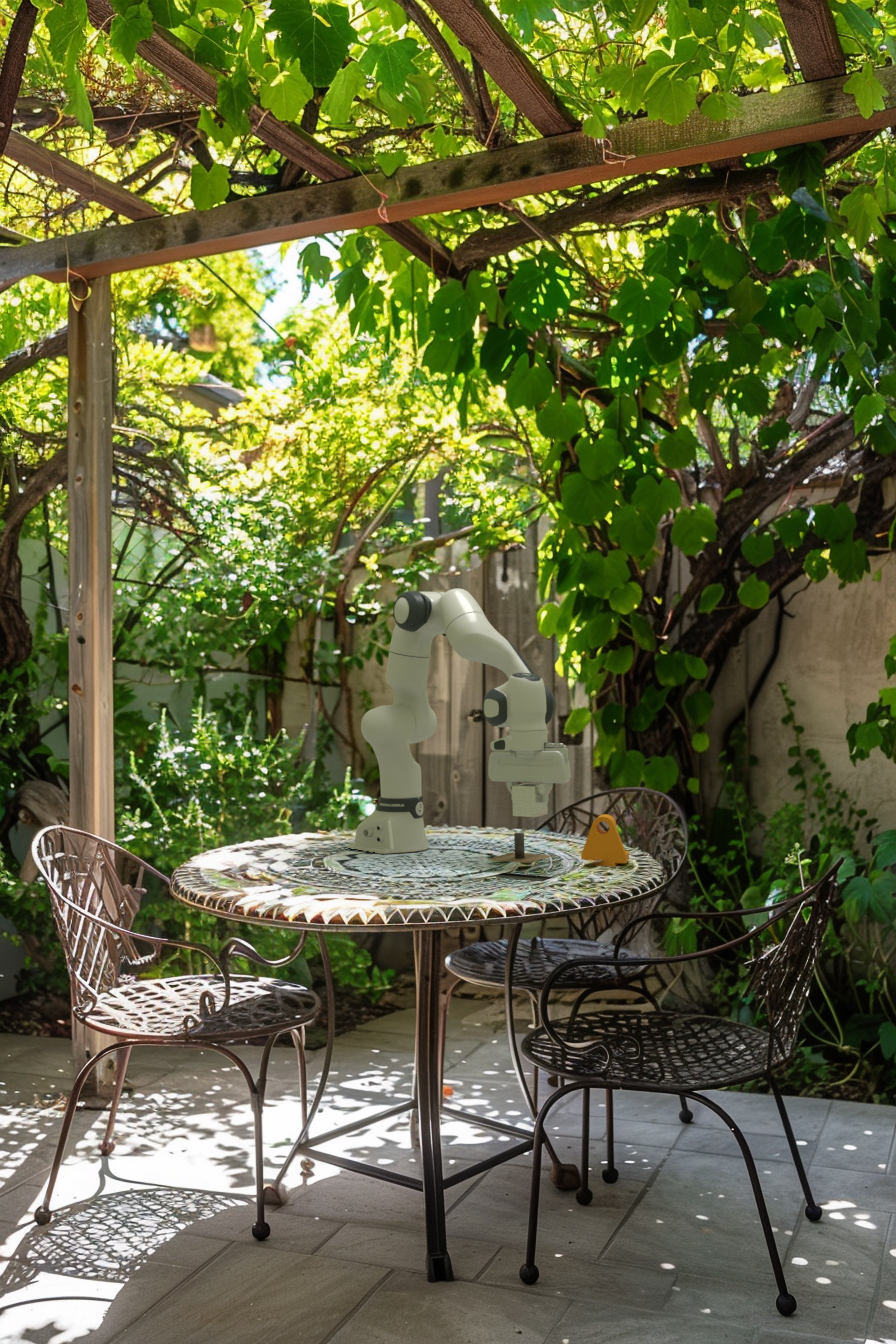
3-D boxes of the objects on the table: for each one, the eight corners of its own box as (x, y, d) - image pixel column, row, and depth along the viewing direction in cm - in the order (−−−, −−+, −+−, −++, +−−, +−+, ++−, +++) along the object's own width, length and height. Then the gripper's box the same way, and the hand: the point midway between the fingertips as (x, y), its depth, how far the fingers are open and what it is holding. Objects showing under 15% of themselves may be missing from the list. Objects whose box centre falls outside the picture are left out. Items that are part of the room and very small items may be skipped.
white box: (512, 816, 288) (512, 785, 288) (524, 812, 293) (524, 783, 293) (535, 817, 285) (535, 786, 285) (547, 813, 290) (546, 784, 290)
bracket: (629, 861, 305) (628, 813, 305) (625, 866, 298) (624, 817, 298) (586, 860, 308) (585, 812, 308) (581, 865, 301) (580, 816, 301)
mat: (496, 877, 287) (496, 875, 287) (520, 869, 298) (520, 866, 298) (542, 881, 281) (542, 878, 281) (565, 872, 291) (565, 870, 291)
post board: (486, 865, 304) (485, 835, 304) (510, 858, 314) (509, 828, 314) (530, 869, 297) (529, 838, 297) (552, 861, 308) (551, 831, 308)
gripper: (574, 742, 286) (576, 801, 286) (497, 741, 297) (498, 798, 297) (562, 744, 281) (564, 805, 281) (484, 742, 292) (485, 801, 292)
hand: (529, 801), depth 289 cm, fingers closed on white box, 6 cm apart
